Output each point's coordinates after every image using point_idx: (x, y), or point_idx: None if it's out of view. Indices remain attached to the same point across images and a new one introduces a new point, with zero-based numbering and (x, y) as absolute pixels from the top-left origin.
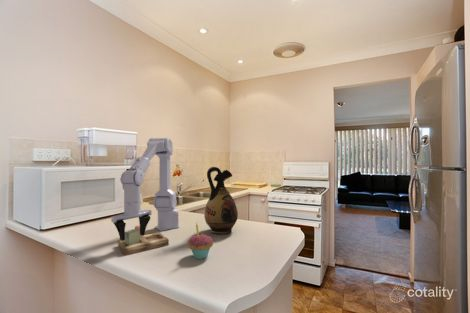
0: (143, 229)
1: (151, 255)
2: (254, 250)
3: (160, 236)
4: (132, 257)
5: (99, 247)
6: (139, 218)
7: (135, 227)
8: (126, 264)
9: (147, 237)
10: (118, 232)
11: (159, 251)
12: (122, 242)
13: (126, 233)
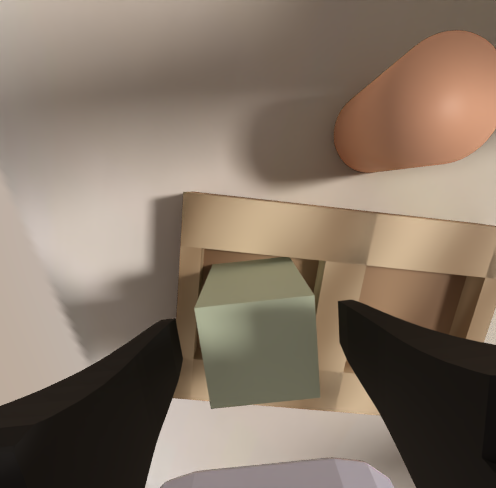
0: (368, 390)
1: (287, 455)
2: None
3: (466, 309)
4: (207, 420)
5: (77, 121)
6: (461, 397)
7: (391, 100)
8: (162, 471)
9: (388, 264)
10: (117, 354)
11: (340, 438)
12: (195, 272)
13: (204, 348)
